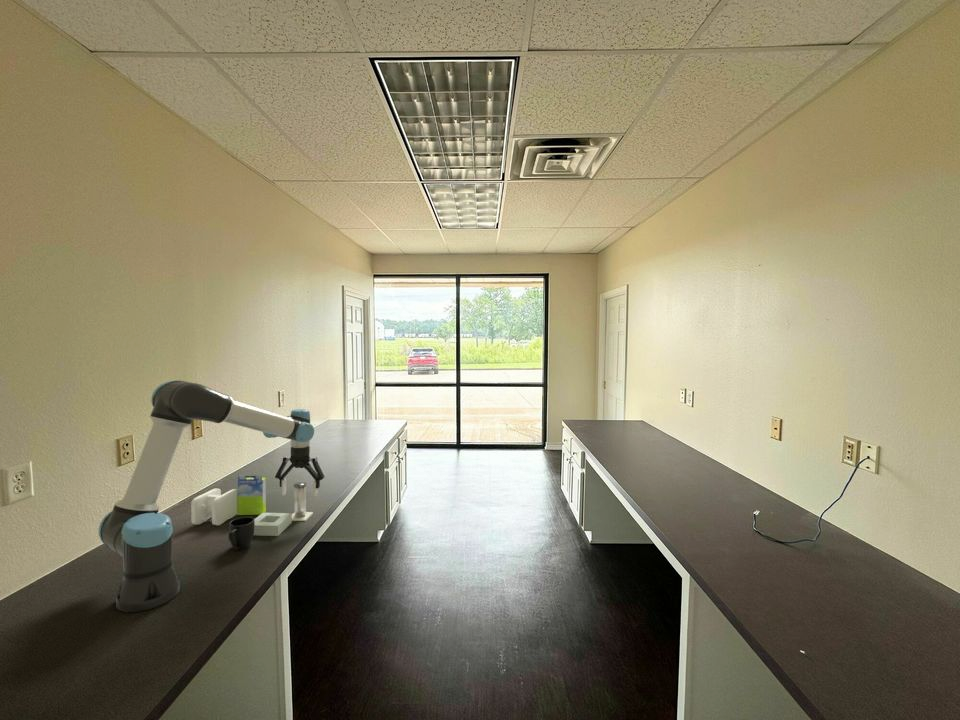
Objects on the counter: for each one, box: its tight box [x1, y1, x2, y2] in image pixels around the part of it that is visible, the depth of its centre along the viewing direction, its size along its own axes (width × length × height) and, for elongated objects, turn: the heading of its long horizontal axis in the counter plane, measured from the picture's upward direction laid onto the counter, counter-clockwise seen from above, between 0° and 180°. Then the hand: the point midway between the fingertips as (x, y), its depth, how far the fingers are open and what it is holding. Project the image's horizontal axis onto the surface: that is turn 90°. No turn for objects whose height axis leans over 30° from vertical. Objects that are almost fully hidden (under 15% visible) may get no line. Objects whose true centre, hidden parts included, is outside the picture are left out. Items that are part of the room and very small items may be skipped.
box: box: [237, 475, 267, 516], centre depth 192 cm, size 10×4×17 cm, turn 97°
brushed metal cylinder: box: [293, 481, 307, 518], centre depth 189 cm, size 5×5×14 cm
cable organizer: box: [190, 488, 238, 526], centre depth 184 cm, size 15×11×12 cm
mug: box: [228, 516, 255, 551], centre depth 161 cm, size 8×12×10 cm
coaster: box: [292, 511, 314, 522], centre depth 190 cm, size 8×8×1 cm
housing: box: [253, 512, 293, 537], centre depth 178 cm, size 12×12×4 cm
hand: (299, 495), depth 189 cm, fingers open, 13 cm apart
